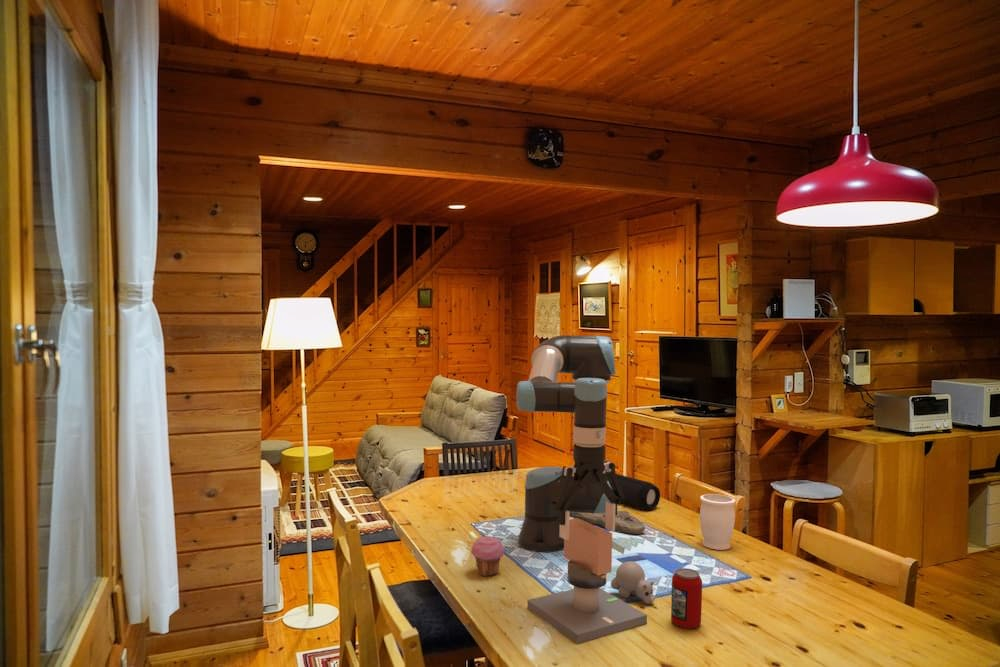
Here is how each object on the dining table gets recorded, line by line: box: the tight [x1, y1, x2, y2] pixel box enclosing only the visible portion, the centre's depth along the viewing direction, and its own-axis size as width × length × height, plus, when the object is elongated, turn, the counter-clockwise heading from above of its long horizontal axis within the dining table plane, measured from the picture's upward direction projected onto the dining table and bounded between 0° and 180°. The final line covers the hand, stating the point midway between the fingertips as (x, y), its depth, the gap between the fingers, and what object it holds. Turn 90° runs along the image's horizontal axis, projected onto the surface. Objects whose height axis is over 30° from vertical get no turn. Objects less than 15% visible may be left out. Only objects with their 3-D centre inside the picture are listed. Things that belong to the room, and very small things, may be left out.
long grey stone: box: [569, 510, 646, 535], centre depth 233 cm, size 35×5×10 cm
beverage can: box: [670, 567, 703, 629], centre depth 157 cm, size 7×7×12 cm
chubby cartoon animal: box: [610, 560, 656, 605], centre depth 170 cm, size 7×12×8 cm, turn 38°
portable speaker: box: [616, 473, 661, 511], centre depth 256 cm, size 26×10×10 cm, turn 39°
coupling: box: [563, 517, 613, 589], centre depth 160 cm, size 13×9×13 cm
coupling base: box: [527, 586, 648, 644], centre depth 160 cm, size 20×20×8 cm
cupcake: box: [471, 535, 505, 577], centre depth 185 cm, size 9×9×10 cm
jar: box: [699, 493, 736, 551], centre depth 210 cm, size 11×10×15 cm
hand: (587, 534), depth 159 cm, fingers open, 13 cm apart
